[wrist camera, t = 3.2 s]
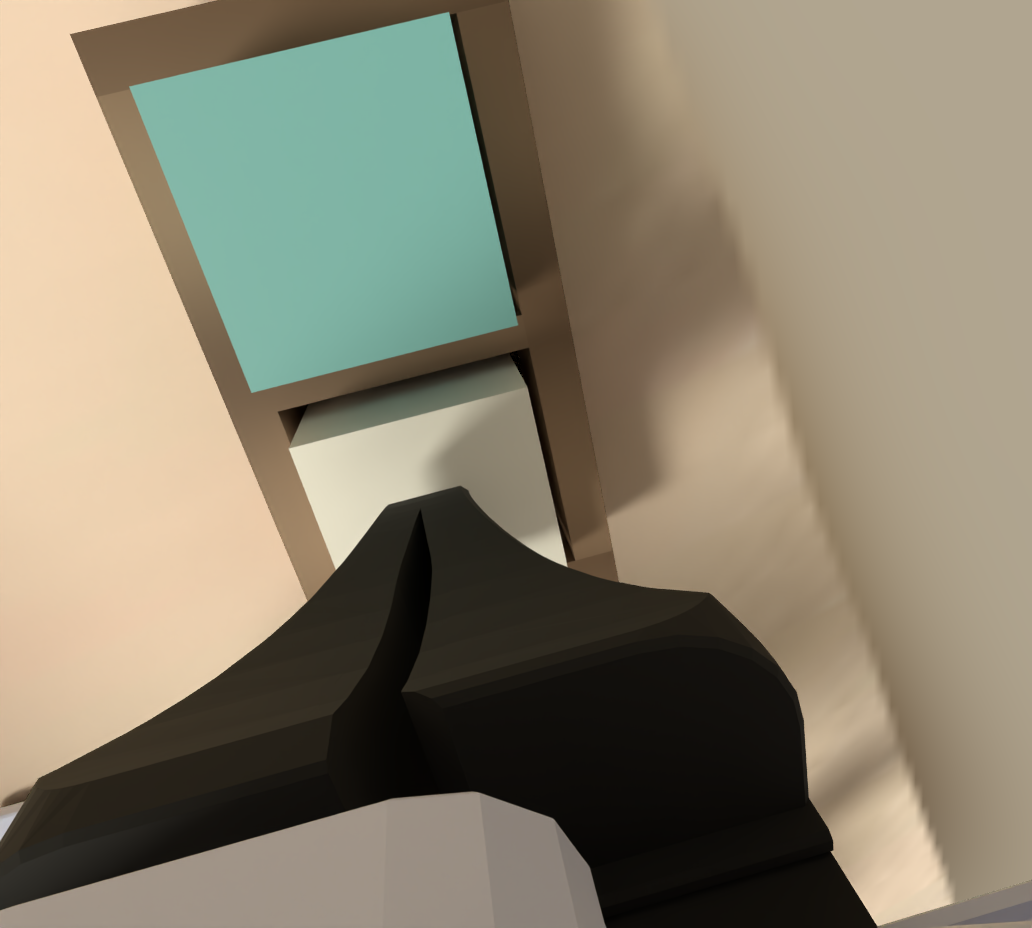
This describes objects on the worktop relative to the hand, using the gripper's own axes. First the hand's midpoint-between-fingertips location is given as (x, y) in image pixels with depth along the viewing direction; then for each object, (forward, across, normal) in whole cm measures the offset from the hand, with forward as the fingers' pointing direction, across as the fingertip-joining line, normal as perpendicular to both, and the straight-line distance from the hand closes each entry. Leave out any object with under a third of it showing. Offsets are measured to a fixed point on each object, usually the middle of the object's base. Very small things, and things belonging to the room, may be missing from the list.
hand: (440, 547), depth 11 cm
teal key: (+3, 0, -5) cm, 6 cm away
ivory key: (+3, 0, 0) cm, 3 cm away
